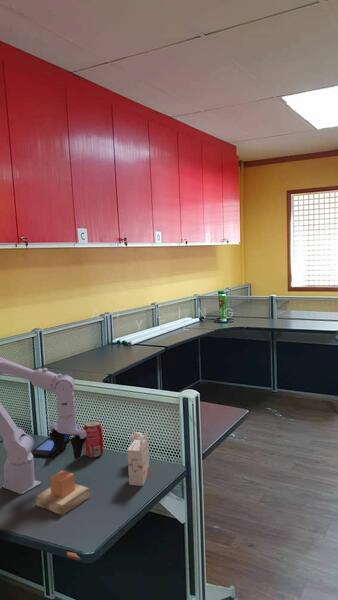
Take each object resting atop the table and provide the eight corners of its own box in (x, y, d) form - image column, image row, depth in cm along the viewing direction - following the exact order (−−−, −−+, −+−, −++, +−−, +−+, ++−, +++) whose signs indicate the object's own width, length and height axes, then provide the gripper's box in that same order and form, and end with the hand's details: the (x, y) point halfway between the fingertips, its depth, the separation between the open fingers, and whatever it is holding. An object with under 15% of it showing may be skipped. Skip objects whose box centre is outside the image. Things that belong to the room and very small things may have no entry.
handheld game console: (49, 440, 185) (48, 418, 184) (79, 442, 182) (78, 419, 181) (28, 457, 170) (26, 432, 169) (60, 459, 166) (59, 435, 166)
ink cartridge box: (135, 472, 154) (133, 430, 153) (149, 473, 153) (148, 431, 152) (128, 485, 146) (126, 440, 144) (143, 486, 145) (141, 441, 143)
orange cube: (50, 493, 137) (49, 477, 136) (63, 485, 141) (62, 470, 140) (62, 497, 134) (61, 481, 133) (74, 489, 138) (74, 474, 138)
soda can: (94, 449, 174) (92, 418, 173) (107, 453, 170) (106, 421, 169) (80, 455, 169) (78, 424, 167) (94, 460, 164) (92, 428, 163)
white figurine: (128, 460, 164) (126, 427, 163) (137, 456, 166) (136, 424, 165) (141, 468, 156) (140, 435, 155) (151, 465, 159) (149, 432, 158)
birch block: (36, 506, 136) (35, 495, 136) (63, 490, 145) (63, 479, 145) (63, 517, 130) (62, 505, 130) (89, 499, 139) (89, 488, 139)
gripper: (92, 414, 145) (94, 455, 147) (59, 407, 153) (62, 446, 155) (76, 421, 140) (78, 463, 141) (43, 413, 147) (46, 454, 149)
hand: (69, 455), depth 147 cm, fingers open, 7 cm apart
